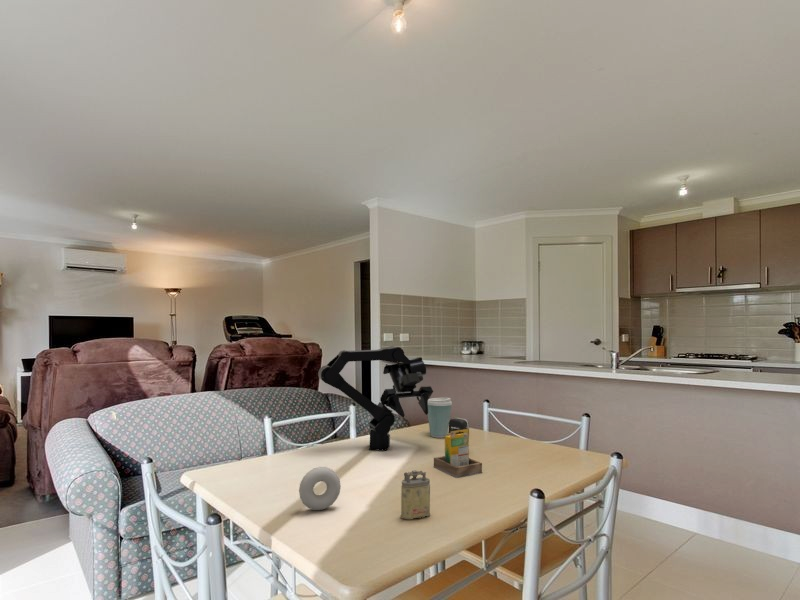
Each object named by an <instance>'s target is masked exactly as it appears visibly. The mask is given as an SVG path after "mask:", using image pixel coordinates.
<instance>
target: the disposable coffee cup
mask: <svg viewBox="0 0 800 600" xmlns="http://www.w3.org/2000/svg"><path fill="white" fill-rule="evenodd" d="M452 405H453V402H452V399H451V397H433V398H429V399H428V414H427V419H428V427H429V428H428V429H429V434H430V438H431V437H432V438H438V439H439V438H440V439H441V438H444V439H445V436H448V433H449V421H450V420H451V419H450V418H451V411H452Z"/></svg>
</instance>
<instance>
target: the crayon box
mask: <svg viewBox="0 0 800 600" xmlns="http://www.w3.org/2000/svg"><path fill="white" fill-rule="evenodd" d="M458 432H464V433H462V434H456V433H458ZM469 445H470V428H469V429H464V430H458V431H451V432H450V433H449V435H447V436H445V437H444V456H445V462H447V463H449V464H452V465H454V466H456V467H459V466H464V465H469V458H470V457H469V456H470V455H469V454H470V453H469V451H470V448H469Z"/></svg>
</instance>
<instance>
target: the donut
mask: <svg viewBox="0 0 800 600" xmlns="http://www.w3.org/2000/svg"><path fill="white" fill-rule="evenodd" d="M320 482H321V483H322V482H323V483H325V484H326V490H325V491H324V492H323V493H322V494H316V493H315V491H314V488H315V486H316V485H317V484H318V483H320ZM341 486H342V485H341V480H340V477H339V475H338V473H336V471H335V470H333V469H331V468H329V467H327V466H318V467H314V468H312V469H310V470H309V471H308V472H306V473H305V475H303V477H302V478H301V481H300V483H299V488H298V493H299V499H300V501H301V502H302V504H303V505H304V506H305V507H307V509H310V510H313V511H322V510H326V509H328V508H330V507H331V506H332V505H333V504H334V503H335V502H336V501H337V500H338V498H339V495H340V493H341Z"/></svg>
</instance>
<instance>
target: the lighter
mask: <svg viewBox="0 0 800 600" xmlns="http://www.w3.org/2000/svg"><path fill="white" fill-rule="evenodd" d="M403 473H404V474H403V476H404V477H403V478H404V479H403V480H402V481H401V487H400V488H401V489H400V491H401V493H400V495H401V496H400V497H401V499H400V502H401V503H400V505H401V508H400V509H401V512H400V513H401V514H400V518H402V519H403V518H405V519H404V520H414V519H413V518H420V519H421V517H422V518H426V517H425V516H427V517H429V516H430V515H431V484H430V481H431V480H430V478H428V477H426V475H427V472H425V471H423V470H416V469H413V470H411V471H408V472H407V471H405V472H403ZM419 475H421V476H422V477H421V476H420V477H418V476H419Z"/></svg>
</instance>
